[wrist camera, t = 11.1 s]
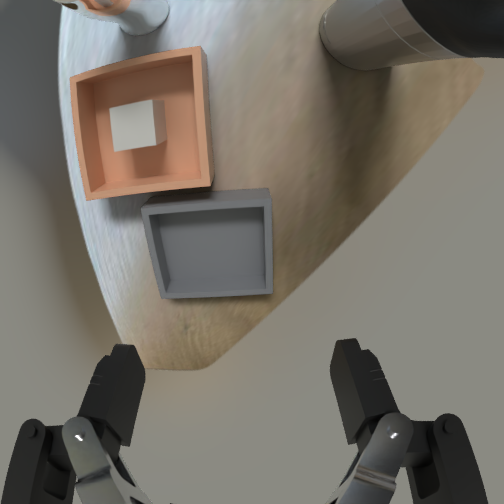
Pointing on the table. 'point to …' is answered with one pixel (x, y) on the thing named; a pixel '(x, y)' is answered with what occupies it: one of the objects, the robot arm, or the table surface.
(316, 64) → the table surface
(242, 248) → the charcoal bin
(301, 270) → the table surface
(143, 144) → the off-white cube block
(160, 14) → the silver metal tumbler
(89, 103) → the terracotta tray
